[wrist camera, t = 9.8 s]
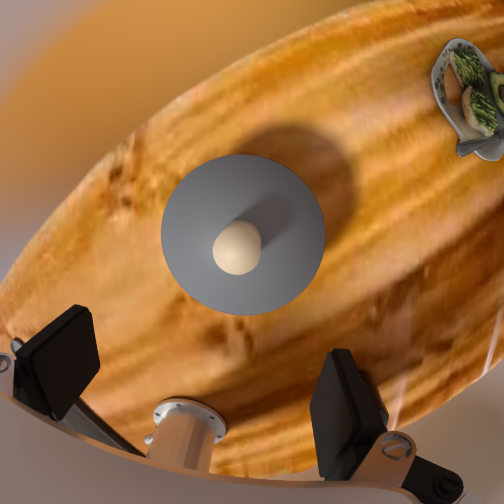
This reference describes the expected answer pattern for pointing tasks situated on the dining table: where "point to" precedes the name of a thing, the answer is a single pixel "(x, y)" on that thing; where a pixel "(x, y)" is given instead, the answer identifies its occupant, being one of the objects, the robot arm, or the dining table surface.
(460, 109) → the salad plate
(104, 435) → the hardcover book
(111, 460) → the robot arm
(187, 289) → the lid
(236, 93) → the dining table surface
